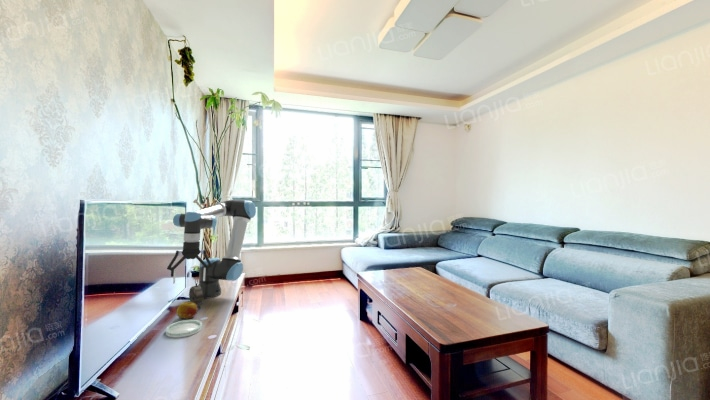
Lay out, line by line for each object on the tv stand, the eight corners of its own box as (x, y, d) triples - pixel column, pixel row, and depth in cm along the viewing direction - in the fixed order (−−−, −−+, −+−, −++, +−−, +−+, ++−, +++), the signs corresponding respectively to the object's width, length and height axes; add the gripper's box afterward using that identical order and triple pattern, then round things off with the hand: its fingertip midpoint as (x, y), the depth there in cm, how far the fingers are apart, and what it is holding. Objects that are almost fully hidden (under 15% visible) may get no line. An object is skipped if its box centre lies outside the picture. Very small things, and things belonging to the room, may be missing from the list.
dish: (166, 326, 137) (166, 322, 137) (201, 321, 145) (201, 317, 145) (164, 340, 124) (164, 336, 124) (202, 333, 132) (203, 329, 132)
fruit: (201, 315, 152) (201, 300, 152) (189, 322, 143) (190, 306, 143) (184, 313, 153) (185, 298, 153) (172, 320, 144) (172, 304, 144)
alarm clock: (203, 308, 161) (204, 280, 161) (193, 310, 157) (194, 281, 157) (196, 302, 168) (198, 275, 168) (186, 305, 164) (188, 277, 164)
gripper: (162, 242, 138) (160, 286, 138) (218, 241, 151) (216, 281, 151) (163, 240, 145) (161, 282, 144) (217, 239, 158) (215, 277, 157)
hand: (189, 281), depth 148 cm, fingers open, 13 cm apart
